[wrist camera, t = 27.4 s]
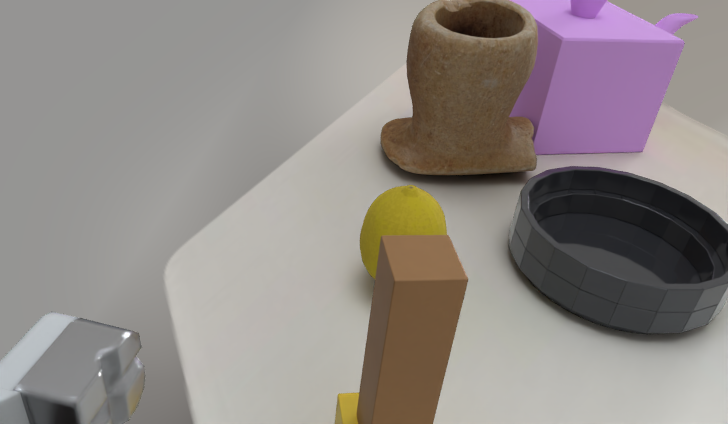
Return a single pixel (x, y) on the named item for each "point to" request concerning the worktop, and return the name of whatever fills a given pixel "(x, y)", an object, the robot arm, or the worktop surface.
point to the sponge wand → (408, 332)
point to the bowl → (621, 249)
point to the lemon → (399, 220)
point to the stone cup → (466, 90)
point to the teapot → (596, 76)
